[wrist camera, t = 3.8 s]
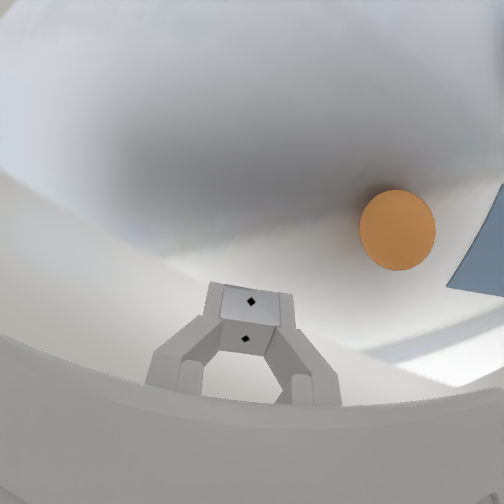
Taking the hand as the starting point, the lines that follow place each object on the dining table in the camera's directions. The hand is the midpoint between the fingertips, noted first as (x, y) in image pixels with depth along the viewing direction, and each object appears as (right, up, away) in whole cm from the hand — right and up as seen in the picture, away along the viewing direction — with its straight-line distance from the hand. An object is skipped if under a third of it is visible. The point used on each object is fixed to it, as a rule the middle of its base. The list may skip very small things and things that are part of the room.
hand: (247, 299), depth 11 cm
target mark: (+27, +2, +11) cm, 29 cm away
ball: (+10, +3, +7) cm, 13 cm away
